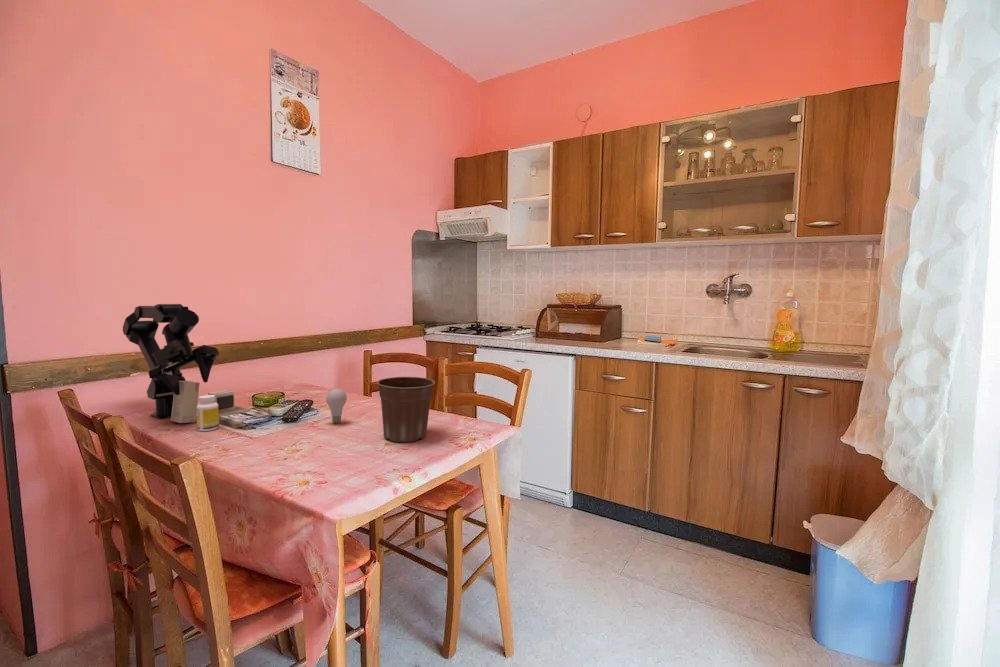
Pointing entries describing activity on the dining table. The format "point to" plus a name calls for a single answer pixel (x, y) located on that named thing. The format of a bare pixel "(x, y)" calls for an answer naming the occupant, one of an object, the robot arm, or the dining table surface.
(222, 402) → the grey open case
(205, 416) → the supplement bottle
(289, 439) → the dining table surface
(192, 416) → the skincare box
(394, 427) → the plant pot
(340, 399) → the lightbulb
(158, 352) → the robot arm
